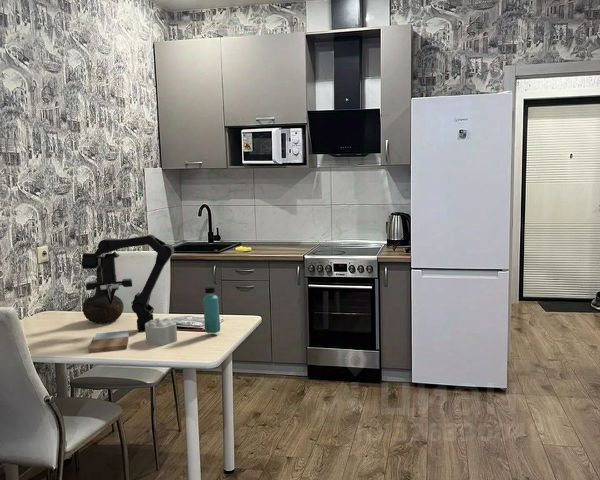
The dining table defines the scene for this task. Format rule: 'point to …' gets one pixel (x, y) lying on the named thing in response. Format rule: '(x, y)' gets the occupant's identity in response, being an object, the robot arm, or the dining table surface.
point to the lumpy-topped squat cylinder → (160, 332)
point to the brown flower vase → (102, 306)
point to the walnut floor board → (108, 344)
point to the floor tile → (111, 335)
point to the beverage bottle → (211, 311)
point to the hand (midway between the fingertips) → (110, 303)
